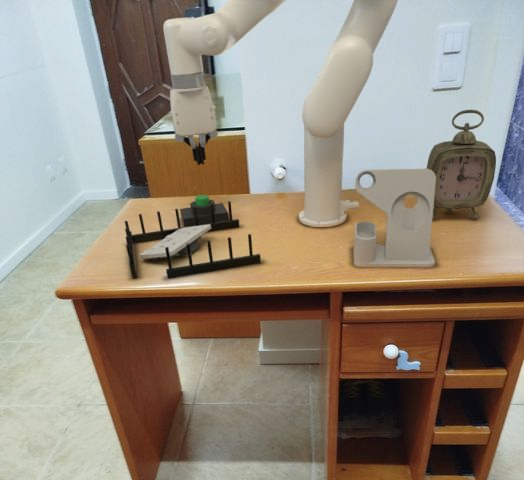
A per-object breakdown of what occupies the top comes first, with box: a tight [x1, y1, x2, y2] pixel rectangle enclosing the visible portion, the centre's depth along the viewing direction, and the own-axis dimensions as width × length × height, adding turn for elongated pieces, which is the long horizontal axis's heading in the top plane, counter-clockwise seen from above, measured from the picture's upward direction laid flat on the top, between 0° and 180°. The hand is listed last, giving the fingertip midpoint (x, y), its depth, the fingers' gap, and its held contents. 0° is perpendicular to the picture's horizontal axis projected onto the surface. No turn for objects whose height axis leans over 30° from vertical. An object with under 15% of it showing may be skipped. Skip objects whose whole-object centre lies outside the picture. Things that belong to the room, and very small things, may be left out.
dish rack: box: [124, 200, 262, 280], centre depth 113 cm, size 28×24×7 cm
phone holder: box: [352, 168, 436, 268], centre depth 102 cm, size 17×10×18 cm, turn 82°
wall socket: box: [139, 224, 211, 262], centre depth 115 cm, size 18×15×4 cm
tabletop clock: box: [425, 109, 497, 221], centre depth 117 cm, size 14×9×25 cm, turn 83°
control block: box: [179, 198, 230, 227], centre depth 130 cm, size 12×8×5 cm, turn 104°
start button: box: [194, 194, 210, 206], centre depth 128 cm, size 4×4×2 cm
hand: (200, 163), depth 123 cm, fingers closed
